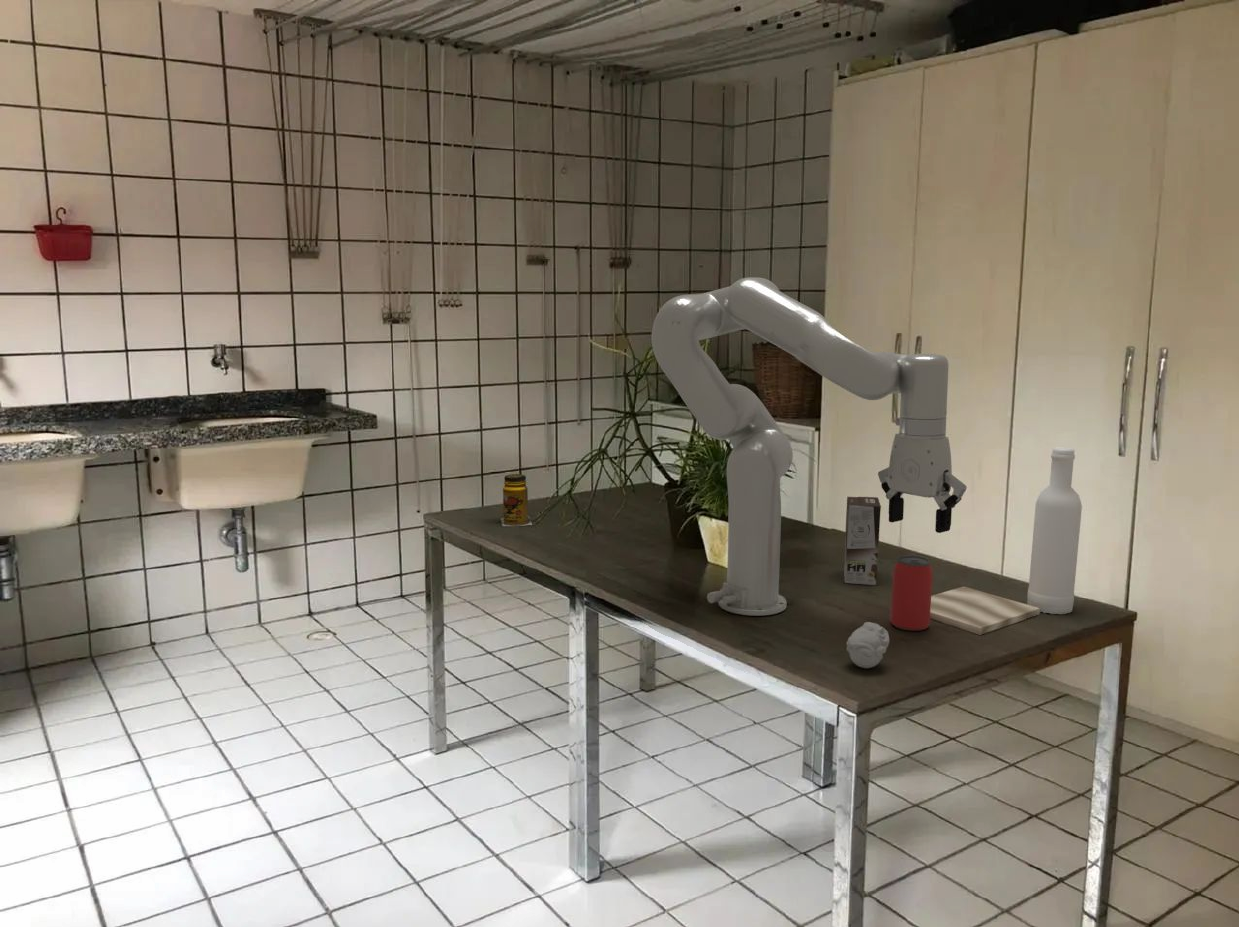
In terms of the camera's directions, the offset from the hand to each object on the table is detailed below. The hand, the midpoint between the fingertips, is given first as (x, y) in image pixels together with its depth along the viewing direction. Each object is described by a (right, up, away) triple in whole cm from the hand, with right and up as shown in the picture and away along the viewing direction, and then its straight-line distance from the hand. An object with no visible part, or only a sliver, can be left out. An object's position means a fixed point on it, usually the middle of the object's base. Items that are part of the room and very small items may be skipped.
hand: (918, 526), depth 172 cm
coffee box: (-3, -13, +31) cm, 34 cm away
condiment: (-77, -4, +76) cm, 109 cm away
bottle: (+28, -16, +13) cm, 35 cm away
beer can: (-1, -18, +4) cm, 18 cm away
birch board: (+13, -16, +11) cm, 23 cm away
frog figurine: (-13, -21, -15) cm, 29 cm away
